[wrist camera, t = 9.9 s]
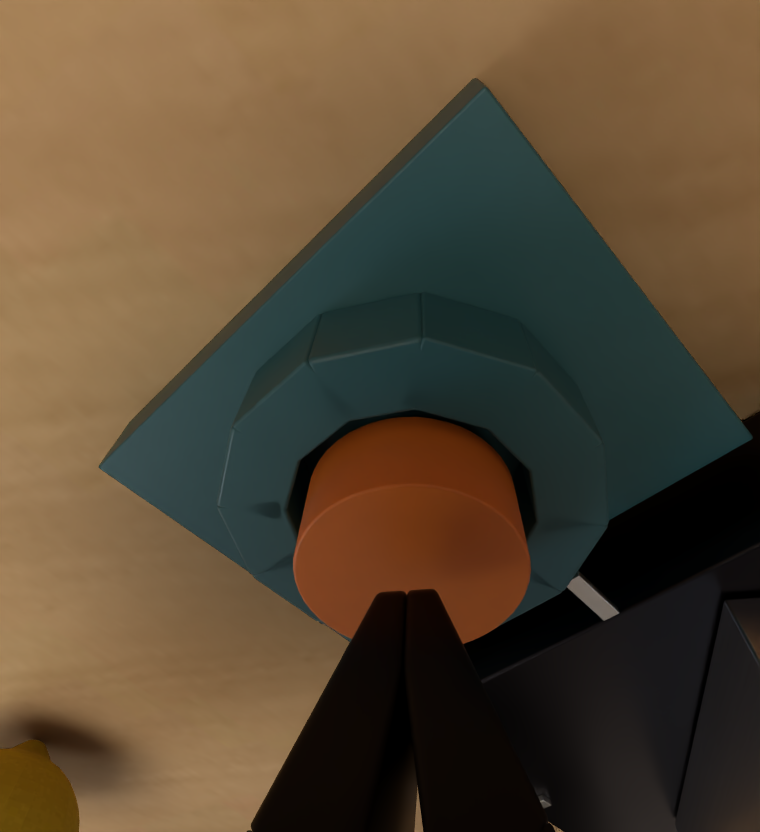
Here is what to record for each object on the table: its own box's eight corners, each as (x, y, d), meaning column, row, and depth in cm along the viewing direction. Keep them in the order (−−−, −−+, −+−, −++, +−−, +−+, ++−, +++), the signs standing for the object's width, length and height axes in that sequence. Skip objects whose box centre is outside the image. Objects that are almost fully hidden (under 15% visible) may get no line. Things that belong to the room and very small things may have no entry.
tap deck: (607, 792, 22) (635, 900, 19) (342, 601, 17) (329, 709, 14) (1037, 637, 16) (1158, 755, 14) (830, 292, 12) (956, 373, 9)
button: (404, 599, 12) (402, 679, 11) (266, 494, 11) (243, 569, 9) (557, 508, 11) (580, 586, 9) (419, 374, 9) (420, 440, 8)
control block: (373, 602, 17) (365, 725, 14) (129, 422, 14) (53, 529, 11) (716, 392, 13) (807, 502, 10) (475, 76, 10) (501, 99, 7)
